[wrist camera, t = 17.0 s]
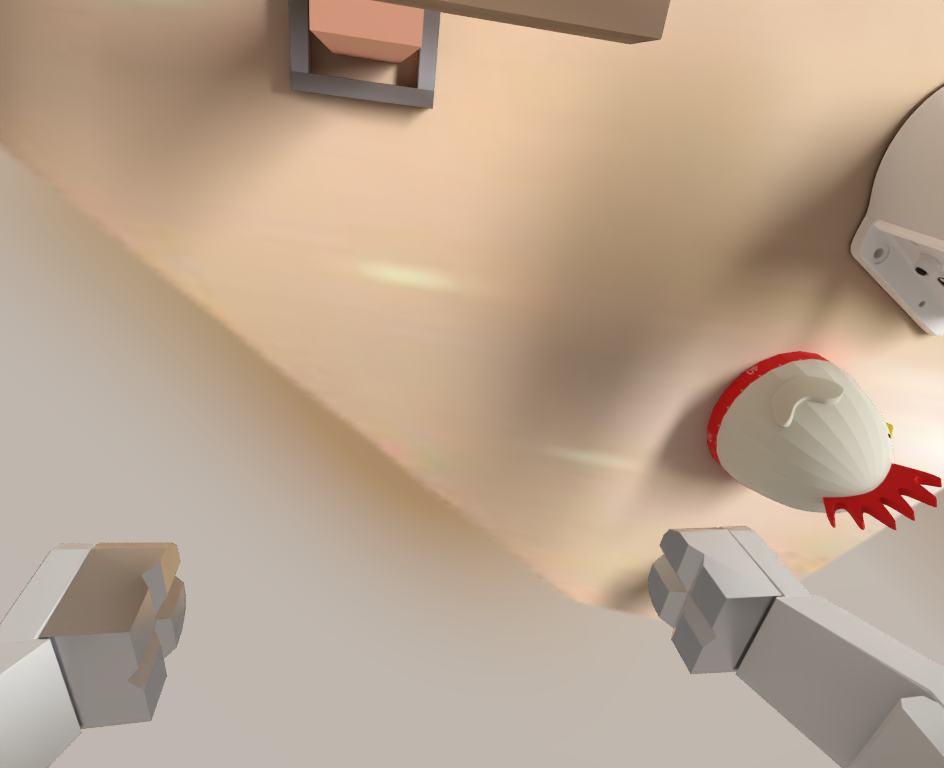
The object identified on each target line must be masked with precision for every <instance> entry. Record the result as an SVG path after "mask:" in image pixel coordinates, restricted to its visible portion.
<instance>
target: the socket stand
mask: <svg viewBox="0 0 944 768" xmlns="http://www.w3.org/2000/svg"><path fill="white" fill-rule="evenodd" d="M373 1H378V2H384V3H390V4H396V5H402V6H408V7H414V8H420V9H424V18H423V33H422V47H421V48H420V49H419V52H418V67H417V82H416V88H411V87H404V86H397V85H390V84H383V83H375V82H368V81H361V80H354V79H347V78H340V77H333V76H325V75H318V74H311V72H310V17H309V0H289V30H290V69H291V90H296V91H304V92H311V93H319V94H326V95H334V96H341V97H349V98H356V99H364V100H371V101H379V102H386V103H394V104H401V105H409V106H416V107H424V108H431V109H433V98H434V86H435V73H436V61H437V48H438V36H439V23H440V12H443V13H449V14H455V15H461V16H467V17H473V18H478V19H484V20H490V21H496V22H502V23H508V24H514V25H520V26H525V27H531V28H537V29H543V30H549V31H555V32H561V33H567V34H573V35H578V36H584V37H590V38H596V39H602V40H608V41H614V42H620V43H625V44H635V43H641V42H647V41H653V40H659V39H661V37H662V33H663V29H664V24H665V20H666V16H667V12H668V8H669V3H670V0H373Z"/></svg>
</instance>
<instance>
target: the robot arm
mask: <svg viewBox="0 0 944 768" xmlns="http://www.w3.org/2000/svg"><path fill="white" fill-rule="evenodd" d="M850 250H851V254H852V256H853V257H854V258H855V259H856V260H857V261H858V262H859V263H860V264H861V266H862V267H863V268H864V269H865V270H866V271H867V272H868V273H869V274H870V275H871V276H872V277H873V278H874V279H875V280H876V281H877V282H878V283H879V284H880V285H881V286H882V288H883V289H884V290H885V291H886V292H887V293H888V294H889V295H890V296H891V297H892V298H893V299H894V300H895V301H896V302H897V303H898V304H899V305H900V306H901V307H902V308H903V310H904V311H905V312H906V313H907V314H908V315H909V316H910V317H911V318H912V319H913V320H914V321H915V322H916V323H917V324H918V325H919V326H920V327H921V328H922V329H923V330H924V331H925V332H926V333H928V334H932V335H935V336H941V335H944V87H942V88H941V89H939V90H938V91H937V92H935V93H934V94H933V95H932V96H930V97H929V98H928V99H927V100H926V101H925V102H924V103H923V104H922V105H921V106H919V107H918V108H917V110H916V111H915V112H914V113H913V114H912V115H911V116H910V117H909V118H908V120H907V121H906V122H905V123H904V125H903V126H902V127H901V129H900V130H899V131H898V133H897V134H896V136H895V137H894V139H893V141H892V142H891V144H890V146H889V147H888V149H887V151H886V153H885V155H884V157H883V159H882V161H881V164H880V166H879V169H878V171H877V174H876V177H875V181H874V184H873V189H872V194H871V198H870V203H869V207H868V211H867V214H866V216H865V218H864V219H863V221H862V223H861V225H860V227H859V228H858V230H857V232H856V234H855V236H854V238H853V241H852V244H851V249H850ZM875 251H876V252H875ZM874 253H875V254H874ZM660 547H661V549H662V551H663V553H664V554H663V555H662V556H661V557H660V558H659V559H658V560H657V561H655V562H654V563H653V564H652V568H651V571H650V574H649V577H648V581H649V594H650V598H651V601H652V604H653V606H654V608H655V610H656V612H657V614H658V616H659V617H660V618H661V619H662V620H664V621H665V622H666V623H668V624H669V625H670V626H672V627H673V632H672V638H671V640H672V641H673V643H674V645H675V647H676V648H677V650H678V652H679V654H680V656H681V658H682V659H683V661H684V663H685V664H686V666H687V668H688V670H689V672H690V674H700V673H701V674H702V673H720V672H736V675H737V676H738V677H739V678H740V679H741V680H743V681H744V682H745V683H746V684H747V685H748V686H749V687H751V688H752V689H753V690H754V691H755V692H756V693H757V694H759V695H760V696H761V697H762V698H763V699H764V700H766V702H768V703H769V704H770V705H771V706H772V707H773V708H774V709H776V710H777V711H778V712H779V713H780V714H781V715H782V716H783V717H785V718H786V719H787V720H788V721H789V722H790V723H791V724H793V725H794V726H795V727H796V728H797V729H798V730H799V731H801V732H802V733H803V734H804V735H805V736H806V737H808V738H809V739H810V740H811V741H812V742H813V743H814V744H815V745H816V746H818V747H819V748H820V749H821V750H822V751H823V752H824V753H825V754H827V755H828V756H829V757H830V758H831V759H832V760H833V761H835V762H836V763H837V764H838V765H839V766H840V767H841V768H944V667H942V666H941V665H939V664H937V663H936V662H934V661H932V660H930V659H929V658H927V657H925V656H924V655H922V654H920V653H918V652H917V651H915V650H913V649H911V648H910V647H908V646H906V645H904V644H903V643H901V642H899V641H898V640H896V639H894V638H892V637H891V636H889V635H887V634H885V633H883V632H882V631H880V630H878V629H877V628H875V627H873V626H872V625H870V624H868V623H866V622H865V621H863V620H861V619H859V618H858V617H856V616H854V615H853V614H851V613H849V612H847V611H845V610H844V609H842V608H840V607H839V606H837V605H835V604H833V603H832V602H830V601H828V600H827V599H825V598H823V597H821V596H820V595H810V594H809V593H808V591H807V590H806V589H805V588H804V587H803V586H802V585H801V583H800V582H799V581H798V580H797V579H796V578H795V577H794V575H793V574H792V573H791V572H790V571H789V570H788V569H787V567H786V566H785V565H784V564H783V563H782V562H781V561H780V559H779V558H778V557H777V556H776V555H775V554H774V553H773V552H772V550H771V549H770V548H769V547H768V546H767V545H766V544H765V542H764V541H763V540H762V539H761V538H760V537H759V536H758V534H757V533H756V532H755V531H754V530H752V529H750V528H748V527H747V526H733V527H720V528H716V527H713V528H686V529H669V530H668V531H667V532H666V533H665V534H664V535H663V538H662V540H661V543H660ZM179 563H180V557H179V553H178V548H177V545H176V544H174V543H99V544H60V545H58V546H57V547H55V548H54V549H52V550H51V551H50V552H49V554H48V555H47V557H46V558H45V559H44V561H43V562H42V564H41V565H40V567H39V568H38V570H37V571H36V572H35V574H34V575H33V577H32V578H31V580H30V581H29V582H28V584H27V585H26V587H25V588H24V590H23V591H22V593H21V594H20V596H19V597H18V598H17V600H16V601H15V603H14V604H13V606H12V607H11V609H10V610H9V612H8V613H7V614H6V616H5V617H4V619H3V620H2V622H1V623H0V768H48V767H49V766H50V765H51V764H52V763H53V762H54V761H55V760H56V759H57V758H58V757H59V756H60V755H61V754H62V753H63V752H64V750H66V749H67V748H68V746H70V745H71V743H72V742H73V741H74V740H75V739H76V738H77V737H78V736H79V735H80V734H81V729H85V728H94V727H103V726H110V725H111V726H112V725H120V724H128V723H137V722H146V721H151V720H152V717H153V714H154V711H155V708H156V705H157V702H158V699H159V697H160V694H161V691H162V688H163V685H164V682H165V679H166V677H167V674H166V669H165V663H164V658H165V657H166V656H167V655H169V654H170V653H171V652H172V651H173V650H174V649H175V648H176V647H177V644H178V641H179V638H180V635H181V632H182V628H183V621H184V616H185V609H186V594H185V587H184V583H183V582H182V581H181V580H180V579H179V578H177V577H176V576H175V574H176V571H177V569H178V566H179Z"/></svg>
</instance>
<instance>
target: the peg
mask: <svg viewBox="0 0 944 768" xmlns="http://www.w3.org/2000/svg"><path fill="white" fill-rule="evenodd" d="M309 17H310V31H311V32H312V33H313V34H314V35H315V36H316V37H317V38H318V39H319V40H320V41H321V42H322V43H323V44H324V45H325V46H326V47H327V48H328V49H329V50H330V51H331V52H332V53H333V54H339V55H346V56H352V57H359V58H366V59H373V60H379V61H386V62H393V63H401V62H402V61H403V60H405V59H406V58H408V57H409V56H410V55H412V54H413V53H414V52H416V51H417V50H418V49H420V48H421V47H422V33H423V18H424V9H420V8H414V7H408V6H402V5H396V4H390V3H384V2H378V1H373V0H309Z"/></svg>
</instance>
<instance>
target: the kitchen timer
mask: <svg viewBox="0 0 944 768" xmlns="http://www.w3.org/2000/svg"><path fill="white" fill-rule="evenodd" d="M892 431H893V426H892V425H891V424H888V423H886V422H885V420H884V419H883V417H882V415H881V414H880V412H879V411H878V409H877V408H876V406H875V405H874V403H873V402H872V401H871V399H870V398H869V397H868V395H867V394H866V393H865V391H864V390H863V389H862V388H861V386H860V385H859V384H858V383H857V382H856V380H855V379H854V378H853V377H852V376H851V375H849V374H848V373H847V372H846V371H844V370H843V369H841V368H840V367H838V366H836V365H835V364H833V363H831V362H830V361H828V360H826V359H825V358H823V357H821V356H819V355H818V354H814V353H807V352H801V351H798V352H791V353H784V354H779V355H776V356H774V357H771V358H769V359H766V360H764V361H761V362H759V363H757V364H756V365H754V366H753V367H751V368H750V369H748V370H747V371H745V372H744V373H743V374H741V375H740V376H739V377H738V378H737V379H736V380H735V381H734V382H733V383H732V384H731V385H730V386H729V387H728V388H727V389H726V390H725V391H724V393H723V394H722V396H721V397H720V399H719V401H718V402H717V404H716V405H715V407H714V409H713V411H712V414H711V418H710V421H709V424H708V432H707V443H708V446H709V449H710V451H711V454H712V456H713V458H714V459H715V460H716V461H717V462H718V463H719V464H720V465H721V466H722V467H723V468H724V469H725V470H726V471H727V472H728V473H729V474H730V475H731V476H732V477H733V478H734V479H735V480H737V481H738V482H739V483H741V484H742V485H744V486H746V487H748V488H749V489H751V490H753V491H755V492H757V493H759V494H761V495H763V496H765V497H767V498H769V499H772V500H774V501H776V502H779V503H781V504H783V505H786V506H789V507H792V508H795V509H799V510H804V511H810V512H822V513H826V514H827V517H828V519H829V521H830V523H831V525H832V527H833V528H835V517H834V515H835V513H840V512H846V511H847V512H848V513H850V515H851V516H852V517H853V519H854V520H855V522H856V523H857V525H858V526H859V527H860V528H861V529H862V530H864V529H865V526H864V520H863V513H864V512H865V513H868V514H870V515H871V516H873V517H874V518H876V519H877V520H879V521H880V522H882V523H884V524H885V525H887V526H888V527H890V528H892V529H894V530H896V524H895V520H894V518H893V517H892V516H891V514H890V513H889V512H888V510H887V509H886V508H885V507H884V505H883V504H885V505H887V506H889V507H891V508H893V509H895V510H896V511H898V512H900V513H901V514H903V515H905V516H906V517H908V518H910V519H911V520H915V517H914V511H913V510H912V508H911V507H910V506H909V504H908V503H907V502H906V501H905V500H904V499H903V497H902V496H901V495H906V496H909V497H911V498H914V499H916V500H918V501H921V502H923V503H925V504H928V505H931V506H933V507H937V499H936V497H935V496H934V495H933V494H931V493H930V492H929V491H927V490H926V489H925V488H924V487H922V486H921V485H920V484H922V485H929V486H935V487H942V485H941V478H939V477H937V476H934V475H932V474H929V473H926V472H923V471H919V470H915V469H912V468H908V467H904V466H901V465H897V464H894V452H893V445H892Z"/></svg>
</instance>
